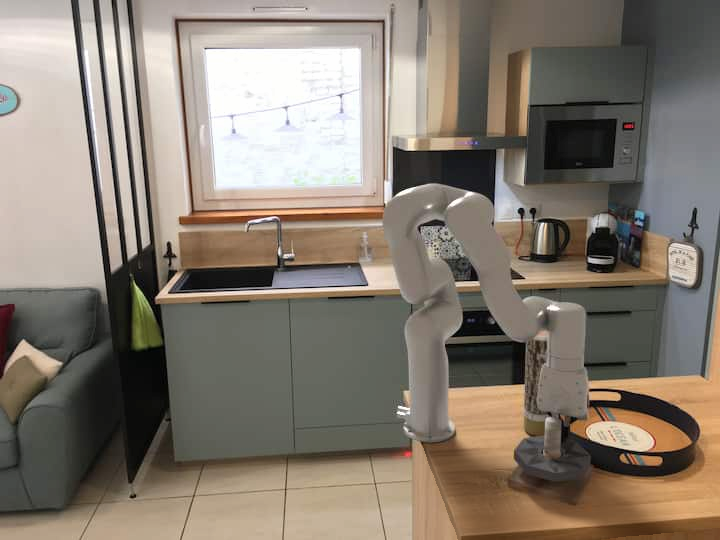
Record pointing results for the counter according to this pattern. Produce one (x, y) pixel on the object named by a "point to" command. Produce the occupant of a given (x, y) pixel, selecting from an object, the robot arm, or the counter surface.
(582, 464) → the grey octagonal disc
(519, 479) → the pipe stand
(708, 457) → the counter surface
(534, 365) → the bark-covered log
